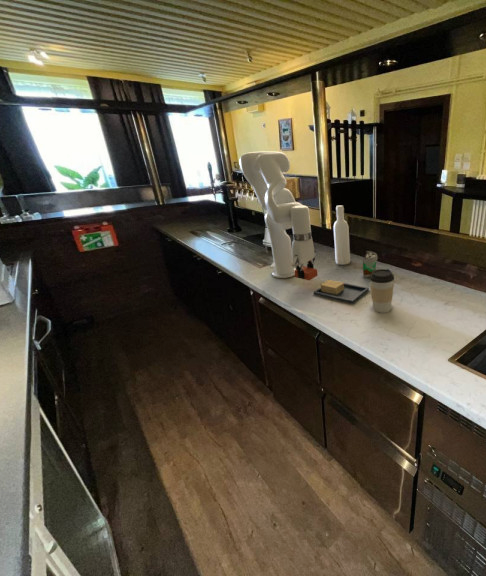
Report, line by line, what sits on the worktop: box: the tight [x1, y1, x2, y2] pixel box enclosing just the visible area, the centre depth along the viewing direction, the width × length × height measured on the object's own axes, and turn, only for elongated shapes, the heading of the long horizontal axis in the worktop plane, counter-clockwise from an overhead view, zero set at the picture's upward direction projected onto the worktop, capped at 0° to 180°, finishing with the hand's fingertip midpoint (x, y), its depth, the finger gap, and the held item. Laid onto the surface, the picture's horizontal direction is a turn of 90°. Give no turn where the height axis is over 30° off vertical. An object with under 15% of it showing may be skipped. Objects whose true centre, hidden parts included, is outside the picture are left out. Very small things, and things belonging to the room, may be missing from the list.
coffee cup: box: [369, 268, 395, 313], centre depth 112 cm, size 9×9×15 cm
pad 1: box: [294, 265, 318, 281], centre depth 134 cm, size 8×6×3 cm
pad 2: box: [320, 279, 345, 295], centre depth 130 cm, size 8×6×3 cm
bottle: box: [333, 205, 351, 266], centre depth 157 cm, size 8×8×30 cm
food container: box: [362, 250, 379, 278], centre depth 144 cm, size 12×6×10 cm, turn 168°
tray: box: [313, 279, 370, 305], centre depth 128 cm, size 19×14×2 cm
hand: (306, 275), depth 134 cm, fingers closed on pad 1, 6 cm apart
